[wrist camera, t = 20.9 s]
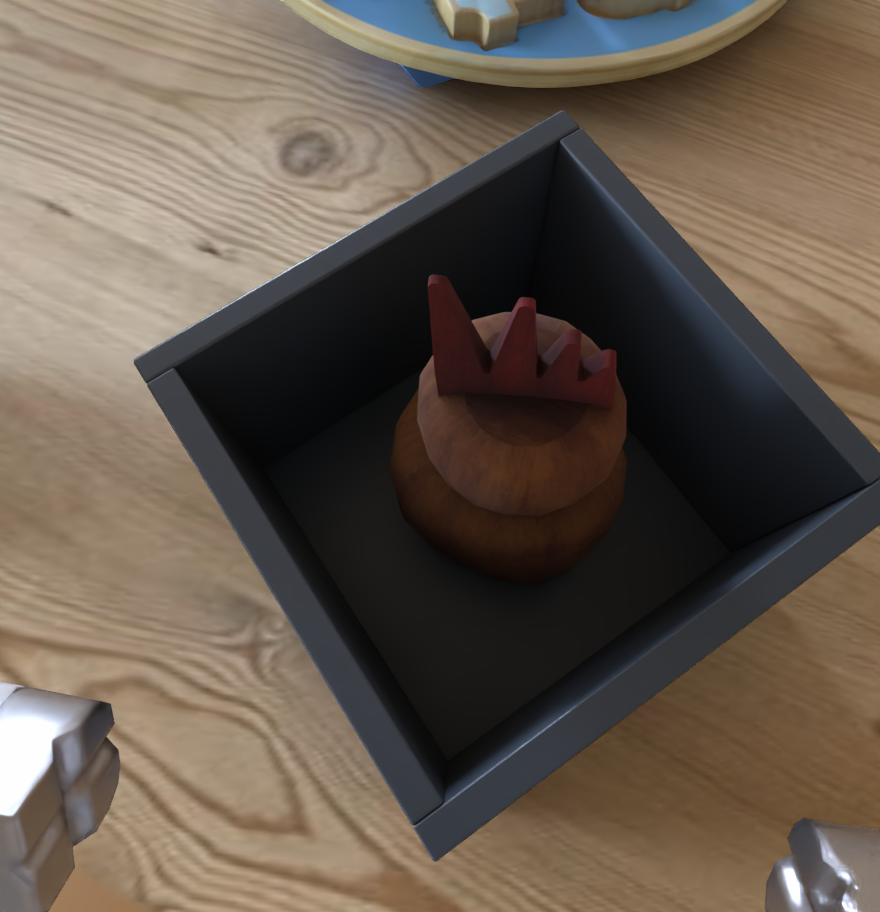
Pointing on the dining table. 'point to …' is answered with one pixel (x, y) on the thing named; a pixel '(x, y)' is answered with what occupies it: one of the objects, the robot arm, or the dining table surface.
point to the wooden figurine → (511, 441)
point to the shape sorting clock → (536, 36)
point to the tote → (458, 587)
